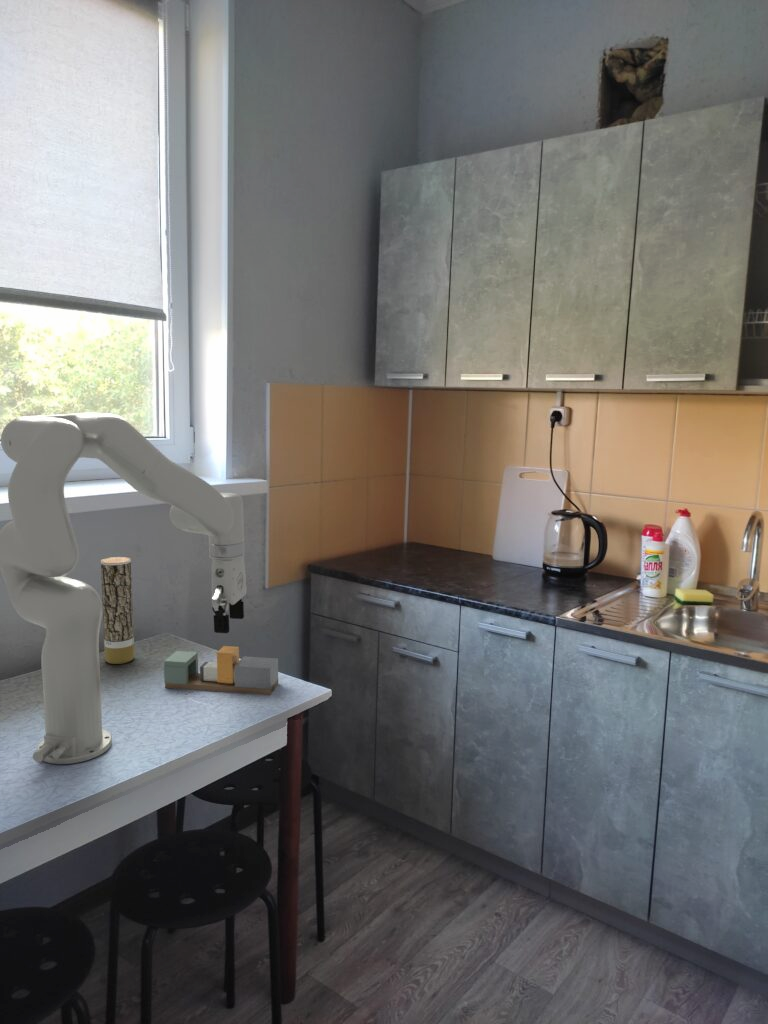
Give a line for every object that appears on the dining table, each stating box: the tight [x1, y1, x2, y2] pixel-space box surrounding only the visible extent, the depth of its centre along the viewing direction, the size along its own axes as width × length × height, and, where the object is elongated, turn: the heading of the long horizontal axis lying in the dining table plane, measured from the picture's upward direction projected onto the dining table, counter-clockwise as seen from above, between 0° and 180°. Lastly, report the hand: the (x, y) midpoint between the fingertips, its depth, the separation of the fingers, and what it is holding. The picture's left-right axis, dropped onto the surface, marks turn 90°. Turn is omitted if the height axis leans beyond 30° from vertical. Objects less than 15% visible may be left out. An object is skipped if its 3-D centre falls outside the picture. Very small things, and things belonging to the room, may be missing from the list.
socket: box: [163, 650, 199, 684], centre depth 165 cm, size 7×5×5 cm
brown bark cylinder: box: [100, 556, 135, 665], centre depth 177 cm, size 7×7×25 cm
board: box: [164, 672, 279, 696], centre depth 164 cm, size 7×24×1 cm, turn 82°
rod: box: [199, 645, 240, 684], centre depth 163 cm, size 4×15×7 cm, turn 82°
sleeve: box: [235, 655, 279, 689], centre depth 163 cm, size 6×8×5 cm
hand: (229, 625), depth 162 cm, fingers open, 9 cm apart
